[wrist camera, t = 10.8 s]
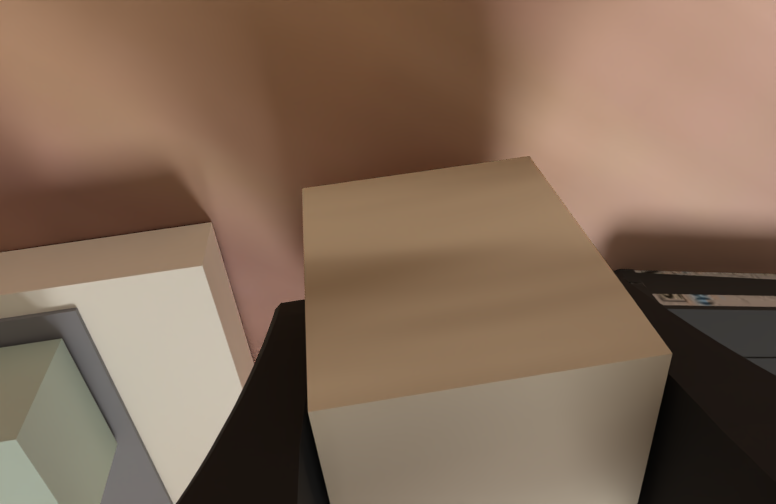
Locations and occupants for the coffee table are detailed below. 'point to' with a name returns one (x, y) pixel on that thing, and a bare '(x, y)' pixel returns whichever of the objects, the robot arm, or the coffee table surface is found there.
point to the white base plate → (138, 344)
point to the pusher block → (472, 344)
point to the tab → (50, 429)
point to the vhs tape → (719, 307)
